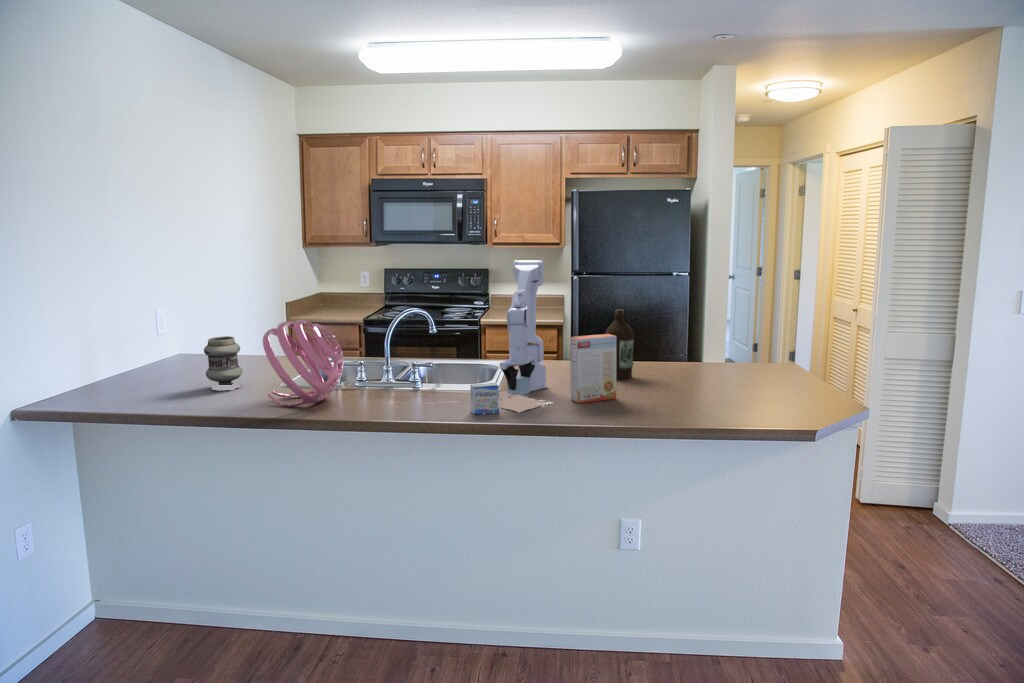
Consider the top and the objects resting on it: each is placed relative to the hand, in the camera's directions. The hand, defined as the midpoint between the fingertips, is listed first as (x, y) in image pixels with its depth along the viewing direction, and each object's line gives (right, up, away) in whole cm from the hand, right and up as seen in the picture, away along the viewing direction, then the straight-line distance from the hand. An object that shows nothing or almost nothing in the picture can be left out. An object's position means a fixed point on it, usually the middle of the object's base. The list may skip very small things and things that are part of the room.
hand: (518, 388), depth 225 cm
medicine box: (-10, -7, -9) cm, 15 cm away
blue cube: (0, -2, 0) cm, 2 cm away
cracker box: (+24, -4, +5) cm, 25 cm away
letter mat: (0, -5, +1) cm, 5 cm away
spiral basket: (-69, -5, +5) cm, 69 cm away
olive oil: (+37, +1, +37) cm, 52 cm away
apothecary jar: (-103, -2, +26) cm, 106 cm away
